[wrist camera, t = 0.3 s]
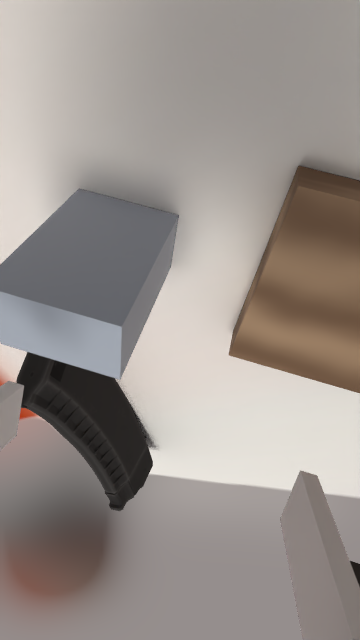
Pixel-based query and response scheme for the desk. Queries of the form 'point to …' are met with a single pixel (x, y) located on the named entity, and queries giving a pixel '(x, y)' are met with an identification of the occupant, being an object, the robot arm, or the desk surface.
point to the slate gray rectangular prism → (87, 282)
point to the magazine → (90, 422)
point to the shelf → (308, 286)
